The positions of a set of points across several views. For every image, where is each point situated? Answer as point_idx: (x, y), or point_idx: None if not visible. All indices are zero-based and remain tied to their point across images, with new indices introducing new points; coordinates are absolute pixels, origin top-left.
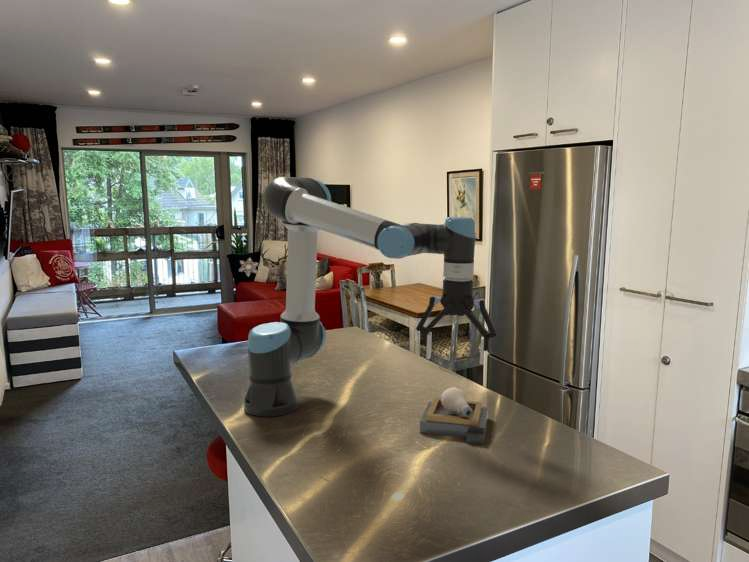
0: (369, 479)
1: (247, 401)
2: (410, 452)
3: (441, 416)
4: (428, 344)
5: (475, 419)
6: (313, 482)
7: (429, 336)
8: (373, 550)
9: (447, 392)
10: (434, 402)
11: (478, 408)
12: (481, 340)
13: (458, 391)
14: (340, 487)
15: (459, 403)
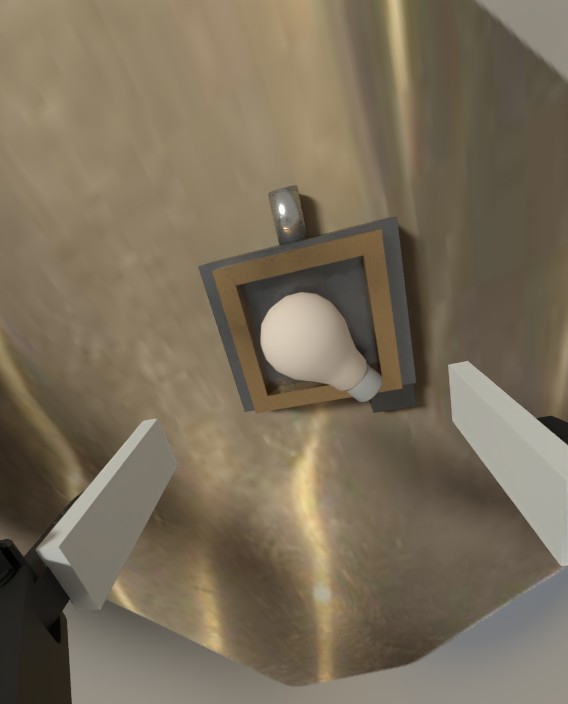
0: (261, 573)
1: None
2: (277, 482)
3: (296, 403)
4: (132, 537)
5: (392, 384)
6: (196, 600)
7: (103, 594)
8: (344, 672)
9: (286, 371)
10: (231, 312)
11: (381, 295)
12: (558, 550)
13: (324, 359)
14: (237, 599)
15: (341, 388)
